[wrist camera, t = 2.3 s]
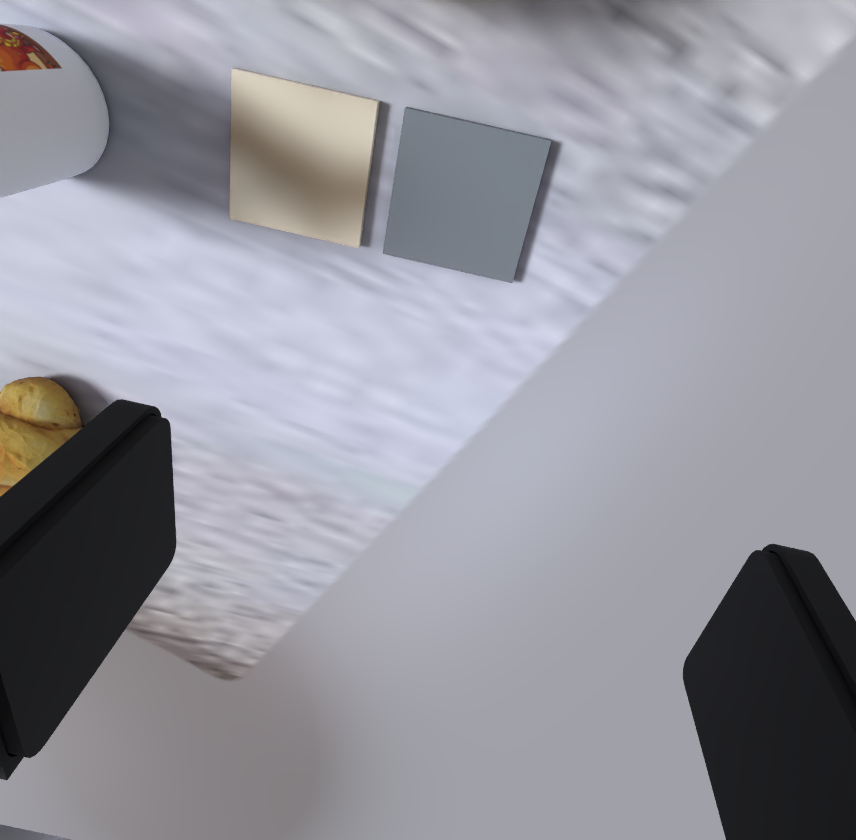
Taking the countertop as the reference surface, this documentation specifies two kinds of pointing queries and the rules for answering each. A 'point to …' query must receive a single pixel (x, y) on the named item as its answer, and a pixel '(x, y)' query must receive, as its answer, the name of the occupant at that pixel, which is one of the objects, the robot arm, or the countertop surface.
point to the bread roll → (33, 425)
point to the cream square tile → (300, 157)
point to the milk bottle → (46, 111)
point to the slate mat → (463, 194)
